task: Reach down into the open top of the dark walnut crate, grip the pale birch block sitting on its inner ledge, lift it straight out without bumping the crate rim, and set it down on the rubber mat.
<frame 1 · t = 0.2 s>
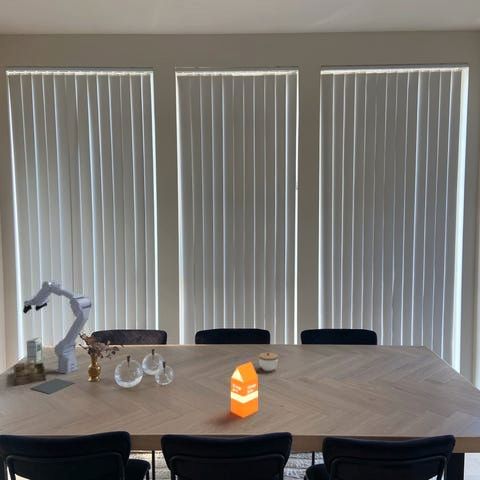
hand: (30, 310, 220), 31 cm above the table, tool tilted 45°, fingers open, 7 cm apart
lidded jar: (268, 369, 209), on the table
syrup box: (34, 363, 221), on the table
rubber mat: (52, 386, 188), on the table
birch block: (29, 371, 201), point 3 cm above the table, touching walnut crate
walnut crate: (29, 376, 201), on the table
orange juice: (244, 411, 160), on the table
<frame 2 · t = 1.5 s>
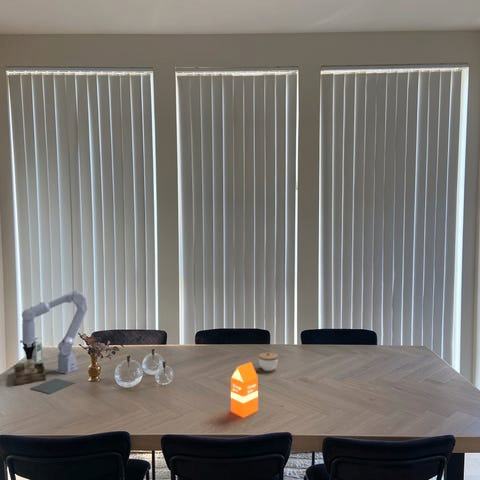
hand: (29, 357, 201), 10 cm above the table, tool pointing down, fingers open, 7 cm apart
nothing on the table moved.
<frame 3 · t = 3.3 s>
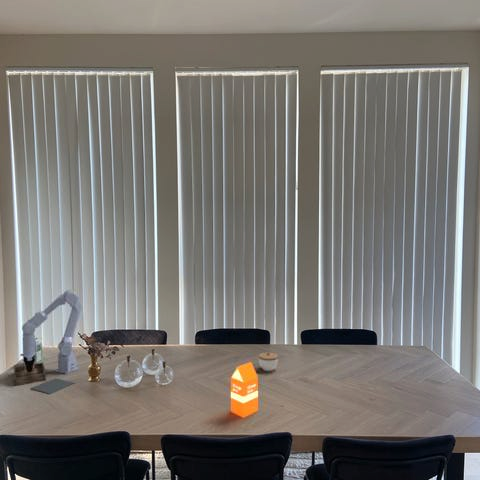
hand: (29, 370, 201), 3 cm above the table, tool pointing down, fingers closed on birch block, 4 cm apart
birch block: (29, 371, 201), point 3 cm above the table, touching gripper, walnut crate
everything else where it was.
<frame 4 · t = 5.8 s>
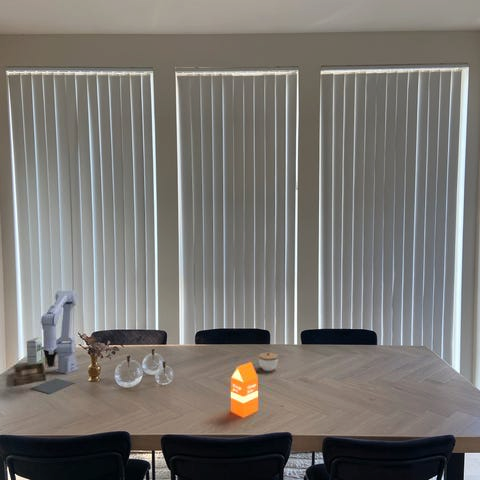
hand: (50, 364, 189), 10 cm above the table, tool pointing down, fingers closed on birch block, 4 cm apart
birch block: (49, 366, 189), point 10 cm above the table, touching gripper
everything else where it was.
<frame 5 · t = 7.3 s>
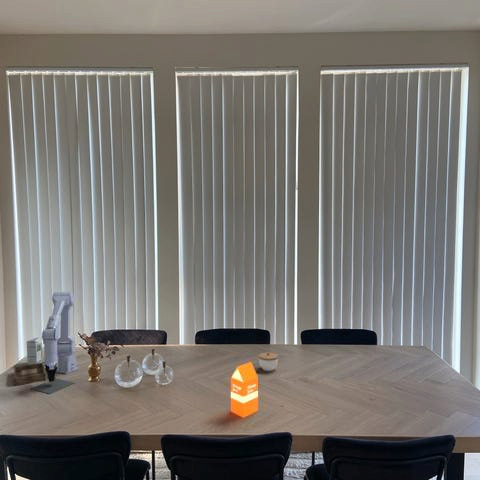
hand: (51, 379, 188), 3 cm above the table, tool pointing down, fingers closed on birch block, 4 cm apart
birch block: (50, 381, 188), point 3 cm above the table, touching gripper
everything else where it was.
when the fingers open (2 cm above the table, at t = 8.5 s): birch block drops 1 cm, resting on rubber mat.
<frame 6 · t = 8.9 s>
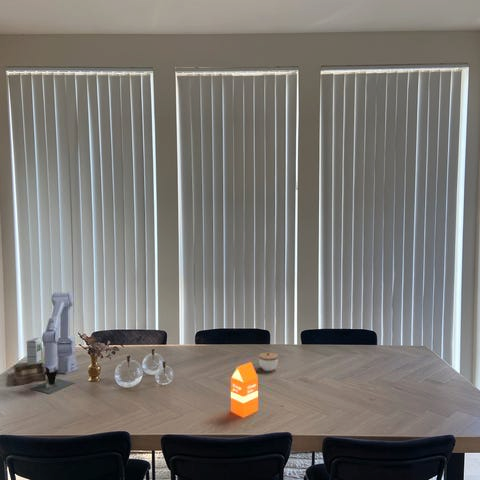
hand: (51, 381, 188), 2 cm above the table, tool pointing down, fingers open, 7 cm apart
birch block: (51, 385, 188), resting on rubber mat
everything else where it was.
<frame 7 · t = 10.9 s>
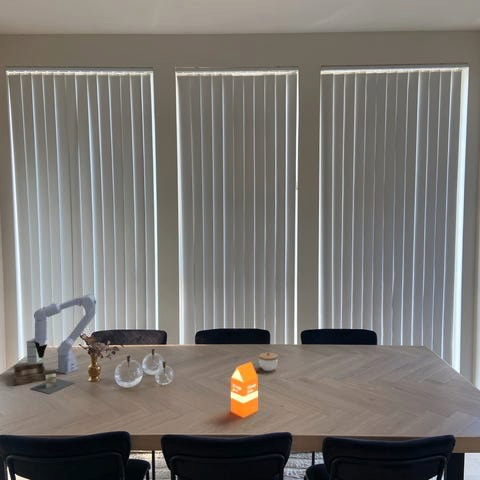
hand: (40, 355, 206), 9 cm above the table, tool pointing down, fingers open, 7 cm apart
nothing on the table moved.
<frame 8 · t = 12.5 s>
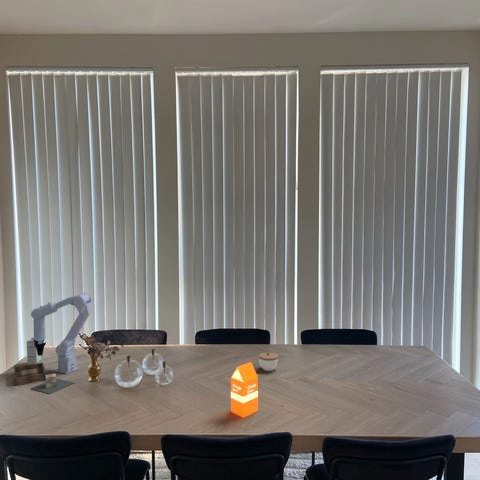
hand: (39, 353, 210), 9 cm above the table, tool pointing down, fingers open, 7 cm apart
nothing on the table moved.
at the end: birch block inside the target area on the rubber mat (0.8 cm from its centre), point 0.4 cm above the rubber mat's base; birch block tilted 0°; birch block touching rubber mat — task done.
